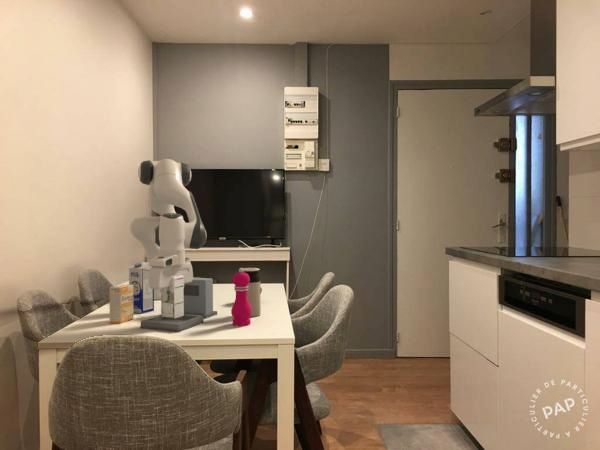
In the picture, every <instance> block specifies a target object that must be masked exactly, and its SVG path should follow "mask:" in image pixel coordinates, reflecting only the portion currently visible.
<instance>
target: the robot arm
mask: <svg viewBox="0 0 600 450" xmlns="http://www.w3.org/2000/svg"><path fill="white" fill-rule="evenodd" d="M137 175H138V178H139V182H140V183H141V184H143V185H145V186H149V190H148V203H147V204H148V207H149V209H150V210H151V211H153V212H154V213H156V214H158V215H159V216H142V217H141V216H140V217H136V218H134V219H132V220H131V222H130V226H129V231H130V234H131V236H132V237H133V238H134V239H136V240H137V241H138V242H140V244H141V245H142V247H143V248H144V250H145V255H146V262H149V266H152V267H151V268H150V269H149V287H150V288H151V289H154V301H155V300H157V301H158V300H161V294H162V300H163V301H167V300H169V295H168V294H167V292H166V291H167V287H171V285H172V282H171V278H172V277H174V276H183V280H184V284H185V283H190V282H192V280H193V278H194V272H193V266H192V263H191V260H190V258H189V257H186V249H189V250H190V249H191V250H193V249H194V250H198V249H201V248H202V247H203V246H204V245H205V244H206V242H207V231H206V228H205V225H204V223H203V221H202V219H201V216H200V212H199V209H198V205H197V203H196V200H195V197H194V195H193V193H192V191H190V190H188V189H187V188H186V187H187V186H189V184H190V182H191V181H192V170H191V167H190V165H189V164H187V163H183V162H178V161H175V160H173V159H171V158H164V159H161V160H152V161H151V160H148V159H147V160H143V161H142V162H140V165H139V166H138V168H137ZM175 207H177V208H181V209H182V210H184V211H185V212H186V215H187V218H188V222H186V221H185V220H184V216H183V215H182V214H181V213H177V212H176V211H175ZM183 289H184V288H183Z"/></svg>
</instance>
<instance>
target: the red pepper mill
mask: <svg viewBox="0 0 600 450" xmlns="http://www.w3.org/2000/svg"><path fill="white" fill-rule="evenodd" d="M243 271H244V269H243V267H240V268H239V269H238V272H236V273H235V274H234V275H233V276H232V282H233V284H234V286H233V288H234V289H233V290H234V291H235V300H234V302H233V304H232V306H231V312H230V313H231V316H232V317H233V318H232V325H233V326H235V327H246V326H249V325H250V324H251V317H249V316H250V315H251V313H252V309H251V306H250V304H249V301H248V299H247V290H248V286H247V285H248V283H249V282H250V277H249V275H248V274H247V273H244V272H243Z"/></svg>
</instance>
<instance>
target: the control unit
mask: <svg viewBox="0 0 600 450" xmlns="http://www.w3.org/2000/svg"><path fill="white" fill-rule="evenodd" d="M183 298H184V314H188V315H200V316H203V319H204V320H205V319H209V318H211V317H214V316H216V315H218V311H217V310H214V279H213V278H207V277H193V280H192V282H190V283H185V284H184V289H183Z"/></svg>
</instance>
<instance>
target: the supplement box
mask: <svg viewBox="0 0 600 450" xmlns="http://www.w3.org/2000/svg"><path fill="white" fill-rule="evenodd" d="M130 320H134V313H133V285H129V283H128V284H126V283H125V284H119V285H115V286H110V287H109V324H123V323H125V322H127V321H130Z"/></svg>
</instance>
